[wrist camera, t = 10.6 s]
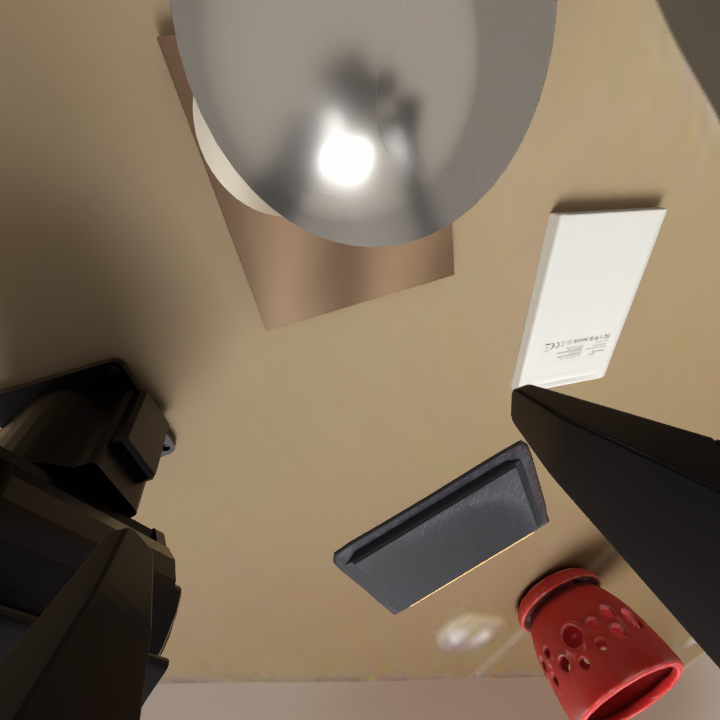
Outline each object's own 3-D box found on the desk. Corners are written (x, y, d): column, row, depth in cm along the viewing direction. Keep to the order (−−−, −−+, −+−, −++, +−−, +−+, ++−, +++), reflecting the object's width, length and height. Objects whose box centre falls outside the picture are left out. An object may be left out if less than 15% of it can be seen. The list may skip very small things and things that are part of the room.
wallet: (537, 445, 30) (558, 533, 38) (522, 431, 31) (545, 518, 40) (327, 567, 30) (394, 628, 38) (322, 546, 31) (388, 610, 39)
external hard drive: (646, 205, 24) (590, 367, 30) (543, 211, 22) (505, 384, 28) (671, 208, 22) (607, 377, 28) (563, 214, 21) (519, 395, 27)
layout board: (265, 325, 20) (266, 332, 19) (160, 43, 14) (155, 35, 13) (447, 271, 21) (456, 275, 20) (428, -5, 15) (439, -15, 14)
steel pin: (274, 210, 16) (340, 308, 5) (199, 110, 14) (44, -80, 3) (351, 148, 16) (589, 118, 5) (288, 36, 14) (476, -472, 3)
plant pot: (606, 568, 49) (700, 673, 39) (533, 625, 52) (604, 737, 42) (570, 543, 43) (672, 661, 33) (488, 609, 45) (559, 739, 35)
